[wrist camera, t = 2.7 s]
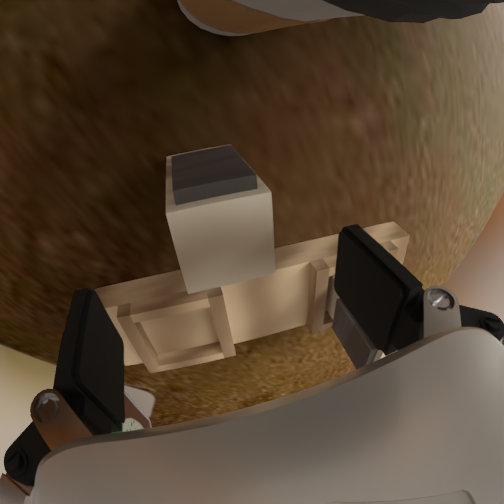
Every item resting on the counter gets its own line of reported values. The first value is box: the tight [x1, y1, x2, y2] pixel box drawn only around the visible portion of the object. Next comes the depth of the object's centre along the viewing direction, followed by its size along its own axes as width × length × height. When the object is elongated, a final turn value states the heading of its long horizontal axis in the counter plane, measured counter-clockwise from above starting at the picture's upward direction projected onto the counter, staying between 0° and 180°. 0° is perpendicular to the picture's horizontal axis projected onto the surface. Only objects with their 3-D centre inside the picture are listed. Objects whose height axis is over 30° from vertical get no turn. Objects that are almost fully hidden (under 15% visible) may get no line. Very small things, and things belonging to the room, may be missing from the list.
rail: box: [94, 221, 410, 373], centre depth 20 cm, size 26×7×10 cm, turn 96°
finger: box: [166, 144, 276, 294], centre depth 15 cm, size 5×4×8 cm
